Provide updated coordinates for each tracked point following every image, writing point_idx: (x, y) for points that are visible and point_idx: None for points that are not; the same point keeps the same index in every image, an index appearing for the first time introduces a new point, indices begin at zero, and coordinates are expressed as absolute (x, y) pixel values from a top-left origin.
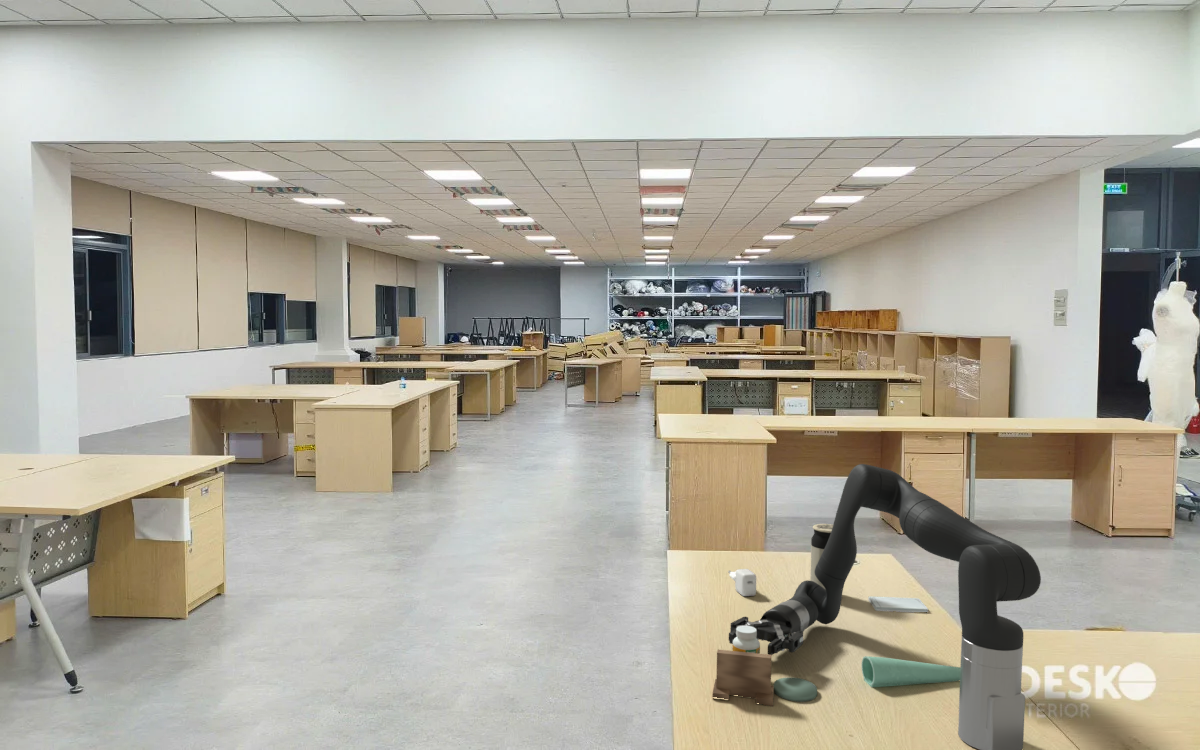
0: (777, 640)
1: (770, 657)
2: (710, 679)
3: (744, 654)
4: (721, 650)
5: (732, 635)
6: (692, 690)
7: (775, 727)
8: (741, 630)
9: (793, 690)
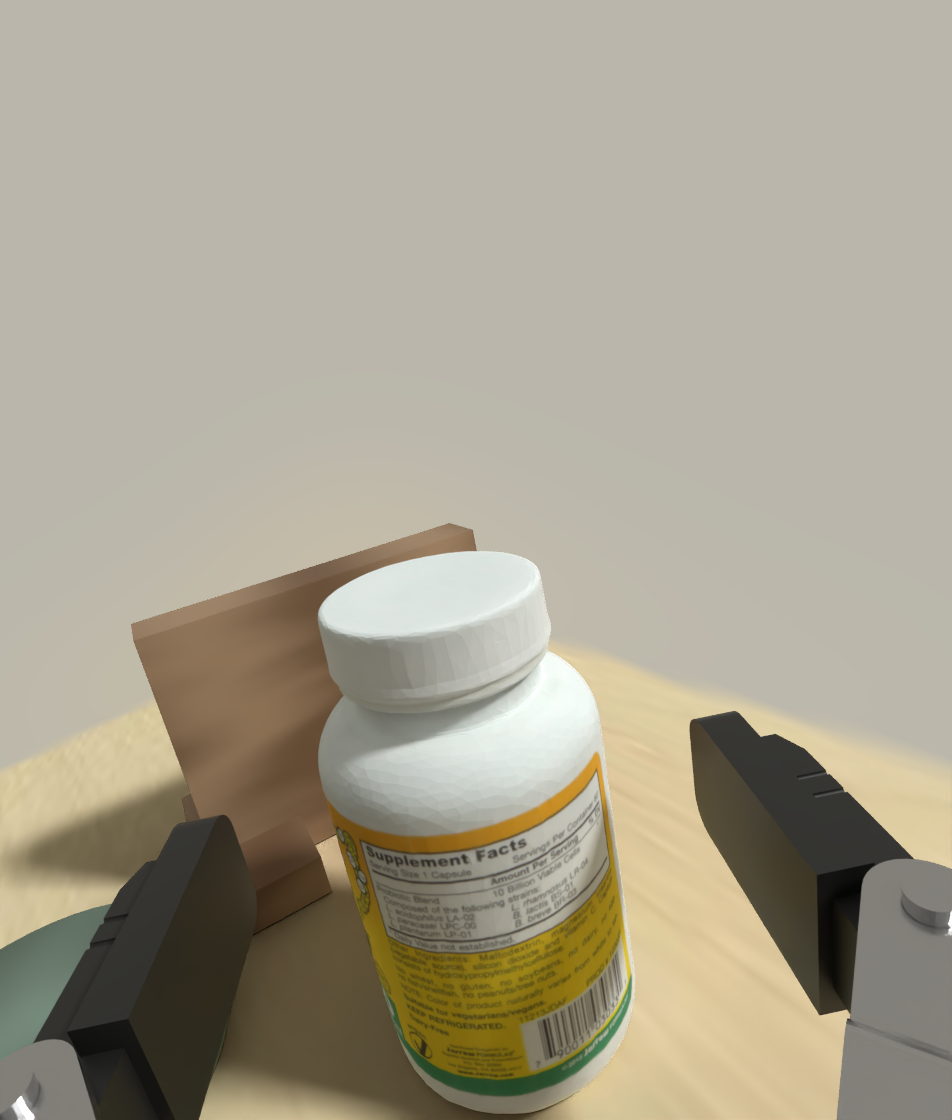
0: (104, 968)
1: (138, 624)
2: (638, 785)
3: (310, 572)
4: (447, 534)
5: (693, 724)
6: (592, 685)
7: (158, 739)
8: (448, 561)
9: (46, 985)
